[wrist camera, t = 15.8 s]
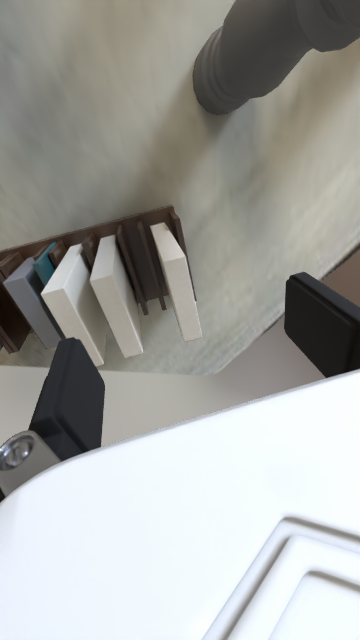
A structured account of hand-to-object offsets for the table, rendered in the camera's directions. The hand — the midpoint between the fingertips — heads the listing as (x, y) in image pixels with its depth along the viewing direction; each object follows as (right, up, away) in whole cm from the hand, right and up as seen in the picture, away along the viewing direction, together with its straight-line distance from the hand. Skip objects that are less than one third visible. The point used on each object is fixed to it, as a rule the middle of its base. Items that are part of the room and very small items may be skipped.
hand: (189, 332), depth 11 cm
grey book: (-18, +5, +24) cm, 30 cm away
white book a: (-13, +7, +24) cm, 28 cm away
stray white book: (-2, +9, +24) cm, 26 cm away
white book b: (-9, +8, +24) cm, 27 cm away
